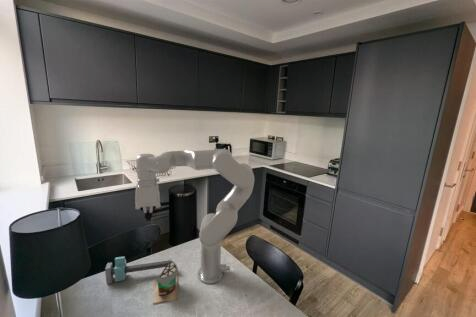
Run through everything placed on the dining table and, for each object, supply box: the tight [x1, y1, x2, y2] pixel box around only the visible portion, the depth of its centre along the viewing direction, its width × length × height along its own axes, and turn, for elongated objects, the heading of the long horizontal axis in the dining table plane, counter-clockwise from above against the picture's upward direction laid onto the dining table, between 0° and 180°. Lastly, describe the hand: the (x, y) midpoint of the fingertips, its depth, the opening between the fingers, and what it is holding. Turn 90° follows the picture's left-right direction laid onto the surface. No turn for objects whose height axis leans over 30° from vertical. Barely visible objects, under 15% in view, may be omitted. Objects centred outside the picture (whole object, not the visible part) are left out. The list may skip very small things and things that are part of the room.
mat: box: [152, 276, 179, 305], centre depth 102 cm, size 10×13×1 cm
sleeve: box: [114, 256, 128, 282], centre depth 106 cm, size 4×6×10 cm
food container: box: [156, 259, 179, 296], centre depth 102 cm, size 12×6×10 cm, turn 171°
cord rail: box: [104, 258, 173, 285], centre depth 109 cm, size 29×4×8 cm, turn 107°
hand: (148, 219), depth 105 cm, fingers closed
